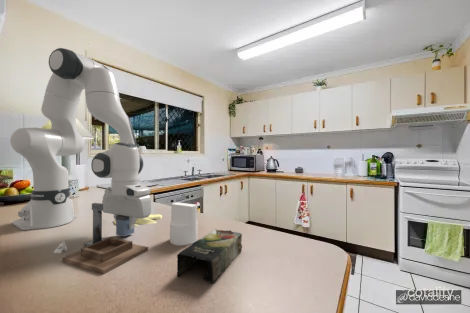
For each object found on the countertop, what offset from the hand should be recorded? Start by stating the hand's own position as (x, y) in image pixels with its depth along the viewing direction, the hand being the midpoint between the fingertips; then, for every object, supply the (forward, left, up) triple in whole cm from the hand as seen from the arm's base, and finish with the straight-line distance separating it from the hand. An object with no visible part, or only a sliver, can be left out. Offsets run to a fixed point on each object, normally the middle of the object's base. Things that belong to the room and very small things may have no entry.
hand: (125, 227), depth 76 cm
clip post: (-2, -9, -3) cm, 10 cm away
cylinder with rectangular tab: (+21, +5, -3) cm, 22 cm away
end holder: (+8, -13, -3) cm, 16 cm away
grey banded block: (0, 0, -2) cm, 2 cm away
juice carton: (+38, -4, -3) cm, 38 cm away
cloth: (-9, +16, -4) cm, 19 cm away
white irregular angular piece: (-8, -17, -4) cm, 19 cm away
